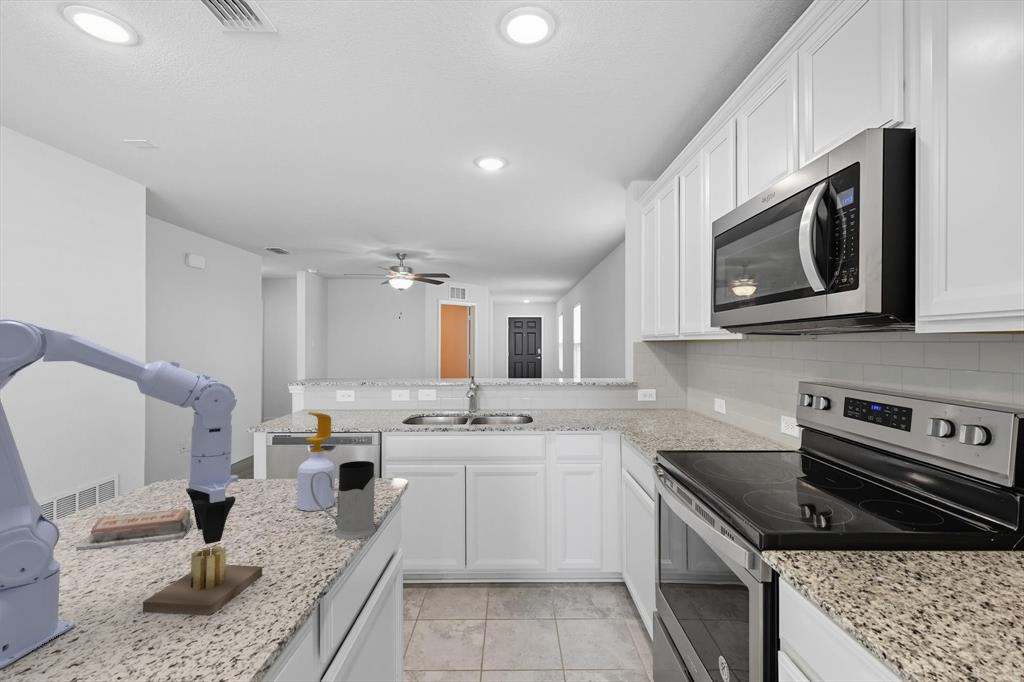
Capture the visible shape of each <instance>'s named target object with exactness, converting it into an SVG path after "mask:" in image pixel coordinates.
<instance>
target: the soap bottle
mask: <svg viewBox="0 0 1024 682" xmlns="http://www.w3.org/2000/svg"><path fill="white" fill-rule="evenodd" d="M308 415H311V416H313V417H316V418H317V432H316V433H317V434H316V435H315V436H310V437H307V438H306V439H305V440H306V442H307V441H308V442H309V441H310V442H311V444H313V448H310V450H309V458H307V460H305V461H303V462H302V463H301V464H300V465H299V466H298V469H297V477H296V478H297V479H296V480H297V481H296V482H297V484H296V486H297V487H296V488H297V489H296V508H297V509H298V510H299V509H300V511H302V510H306V511H305V512H314V511H313V510H319V511H323V510H322V509H321V508H320V507H319V506H318V505H317V504H316V502H315V501H314V498H313V496H312V493H311V478H312V476H313V475H314V474H315V473H316V472H319V471H326V472H327V473H329V474H330V476H331V478H332V487H333V488H335V486H336V485H335V483H336V481H335V480H336V479H335V478H336V477H335V476H336V468H335V467H336V466H335V464H334V462H333V461H331V460H330V459H328V458H326V457H325V455H324V454H325V453H324V452H325V449H324V448H323V447H321V446H322V445H321V444H324V443H323V442H324V441H325V440H329V439H330V438H331V436H332V417H331V416H330V414H326V413H322V412H308ZM313 491H314V495H315V497H316V499H317V501H318V502H319V503H320V505H321V506H322V507H324V508H325V509H326V508H327V509H329V508H331V507H333V505H334V504H335V490H332V489H331V488H330V480H329V477H328V476H327V475H326V474H325V473H318V474H316V475H315V476H314V478H313ZM327 509H326V510H327Z"/></svg>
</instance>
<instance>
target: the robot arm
mask: <svg viewBox="0 0 1024 682" xmlns="http://www.w3.org/2000/svg"><path fill="white" fill-rule="evenodd" d="M41 359H42V362H43V363H44V362H47V363H48V362H75V363H78V364H81V365H85V366H87V367H91V368H94V369H96V370H99V371H103V372H105V373H109V374H111V375H114V376H118V377H120V378H124V379H127V380H129V381H133V382H135V383H136V384H137V387H138V390H139V393H140V394H143V395H145V396H147V397H152V398H154V399H156V400H159V401H163V402H165V403H168V404H171V405H174V406H178V407H181V408H183V409H185V408H186V409H187V408H189V407H190V408H192V410H193V411H194V412H193V426H192V427H191V441H190V442H191V445H190V468H189V470H190V471H189V472H190V473H189V474H190V475H189V481H188V485H187V486H188V488H186V489H185V491H186V493H187V495H188V496H189V499H190V501H191V505H192V507H193V513H194V519H195V524H196V528H197V530H198V531H201V530H202V531H201V532H202V537H203V541H204V544H205V545H210V544H213V543H218V542H221V540H222V538H223V533H224V530H225V527H226V523H227V522H226V521H227V519H228V516H229V515H230V512H231V510H232V508H233V506H234V504H235V502H236V497H235V496H233V495H232V496H226V490H227V488H228V487H229V486H230V485H231V483H235V482H238V481H239V476H238V475H237V474H231V468H232V467H231V466H232V464H231V463H232V440H233V439H232V437H233V436H232V435H233V425H232V419H233V418H232V417H233V415H232V412H233V411H234V409H235V407H236V405H237V401H238V400H237V398H236V394H235V393H234V391H233V390H232V389H231V388H230V387H229V386H228V385H227V384H224V383H220V382H218V380H211V375H208V374H206V373H204V374H202V375H201V374H198V373H195V372H193V371H190V370H187V369H185V368H183V367H180V365H181V363H180V362H178V361H175V360H170V361H169V362H168V361H165V360H162V359H161V360H157V361H154V362H150V363H145V362H143V361H141V360H138V359H135V358H133V357H130V356H129V355H125V354H123V353H120V352H118V351H116V350H114V349H111V348H109V347H106V346H103V345H101V344H99V343H95V342H94V341H91V340H89V339H86V338H83V337H81V336H78V335H75V334H73V333H72V334H71V333H68V332H63V331H59V330H56V329H51V328H47V327H43V326H37V325H35V324H32V323H30V322H26V321H22V320H18V319H13V318H0V391H2V390H3V388H4V387H6V385H7V384H9V383H10V381H11V380H12V379H13V378H14V377H15V376H16V374H17V373H19V372H20V371H22V370H24V369H25V368H27V367H30V366H31V365H33V364H34V363H36V362H38V361H40V360H41ZM60 536H61V535H60V528H59V527H58V525H57V524H56V523H55V522H54V521H53V520H51V519H49V518H48V517H47V516H46V515H45V513H44V510H43V508H42V506H41V505H40V503H39V502H38V501H37V499H36V498H35V495H34V492H33V491H32V487H31V484H30V481H29V478H28V475H27V472H26V470H25V467H24V464H23V461H22V459H21V455H20V453H19V449H18V447H17V444H16V441H15V439H14V435H13V432H12V430H11V426H10V424H9V421H8V418H7V414H6V412H5V409H4V406H3V403H2V401H1V399H0V669H1V668H4V667H7V666H8V665H10V664H12V663H13V662H15V661H17V660H19V659H20V658H22V657H23V656H25V655H27V654H29V653H30V652H32V650H33V651H34V650H36V649H38V648H39V647H41V646H43V645H45V644H47V643H48V642H50V641H52V640H53V639H55V638H57V637H59V636H60V635H62V634H64V633H65V632H67V631H68V630H71V629H73V628H75V626H76V622H75V621H73V622H72V621H60V620H58V619H59V601H60V573H61V562H60V561H58V560H56V559H55V558H54V551H55V548H56V547H57V544H58V542H59V540H60ZM58 635H59V636H58ZM56 636H57V637H56ZM54 637H55V638H54ZM51 639H52V640H51ZM49 640H50V641H49ZM44 643H45V644H44ZM42 644H43V645H42ZM37 647H38V648H37Z"/></svg>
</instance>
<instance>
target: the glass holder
mask: <svg viewBox="0 0 1024 682" xmlns="http://www.w3.org/2000/svg"><path fill="white" fill-rule="evenodd" d="M338 467H339V468H338V470H339V471H338V487H337V488H335V487H334V488H333V487H332V478H331V476H330V474H329V473H327V472H326V471H319V472H316V473H315V474H314V475H313V476H312V478H311V493H312V496H313V498H314V501H315V502H316V504H317V505H318V506H319V507H320V508H321V509H322V510H321V511H323V512H324V513H326V514H327V515H329V516H330V517H331V518H332V519H333V520H334V521H335V525H336V530H335V532H334V537H336V538H338V539H342V540H360V539H362V538H363V539H365V538H367V537H370V536H372V535H374V534H375V532H376V530H377V529H376V527H375V521H374V520H375V487H376V486H375V485H376V484H375V482H376V481H375V476H376V475H375V474H376V473H375V462H372V461H369V460H368V461H367V460H355V461H347V462H343V463H340V464H339V466H338ZM318 473H325V474H326V475H327V476H328V477H329V480H330V488H331V489H332V490H334V492H335V491H337V514H336V515H337V517H336V516H335V515H334V514H332V513H331V512H330V511H329V510H327V509H325V508H324V507H322V506H321V505H320V503H319V502H318V501H317V499H316V497H315V495H314V491H313V478H314V476H315V475H316V474H318Z"/></svg>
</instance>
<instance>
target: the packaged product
mask: <svg viewBox="0 0 1024 682" xmlns="http://www.w3.org/2000/svg"><path fill="white" fill-rule="evenodd" d="M193 524H194V520H193V518H191V509H175V510H162V511H154V512H153V511H152V512H140V513H130V514H119V515H108V516H104V517H99V518H97V520H96V522H95V524H94V525H93V526H92V529H91V532H90V534H89V535H88V536H87V538H85V539H84V540H82V542H80V543H79V544H78V546H76V547H75V550H76V551H77V552H79V551H78V550H80V551H87V550H88V549H89V550H95V548H96V549H100V548H101V549H102V547H103V548H113V547H112V546H114V547H120V546H130V545H131V544H132V545H140V544H139V543H141V544H149V543H154V542H155V541H157V542H162V540H164V541H172V540H171V539H174V540H179V539H178V538H182V539H183V538H184V537H185V535H186V534H187V533H188V531H189V530H190V529H191V527H192V526H193ZM190 526H191V527H190ZM188 529H189V530H188ZM186 532H187V533H186ZM148 542H149V543H148ZM155 543H156V542H155ZM89 550H88V551H89Z"/></svg>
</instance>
